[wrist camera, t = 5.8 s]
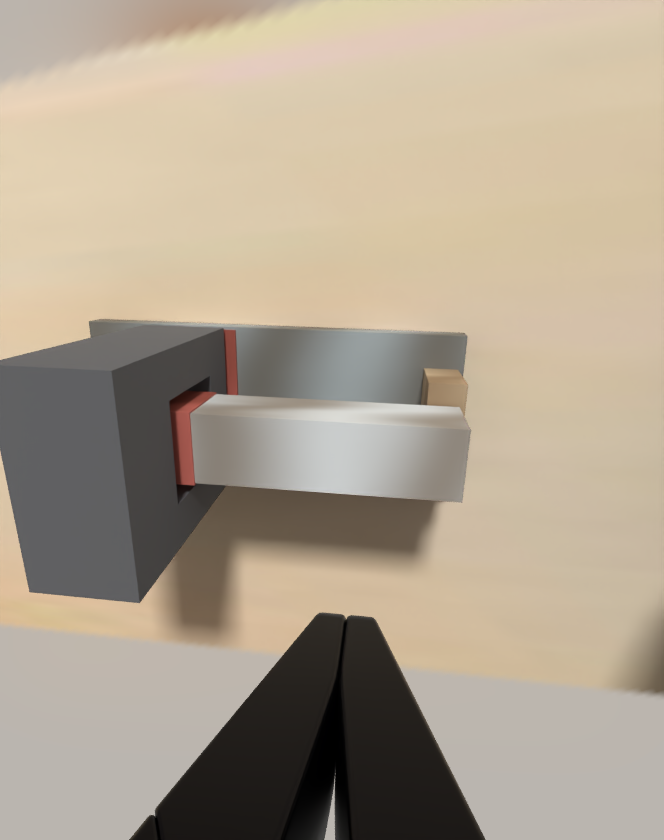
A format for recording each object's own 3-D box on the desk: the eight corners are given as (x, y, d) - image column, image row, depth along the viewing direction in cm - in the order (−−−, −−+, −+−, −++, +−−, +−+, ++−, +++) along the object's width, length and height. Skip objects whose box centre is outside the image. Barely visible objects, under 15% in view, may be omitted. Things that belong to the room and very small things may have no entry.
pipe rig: (463, 333, 17) (495, 361, 12) (447, 482, 19) (469, 562, 14) (100, 319, 19) (-8, 339, 14) (118, 459, 21) (28, 524, 16)
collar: (223, 327, 17) (111, 370, 10) (230, 479, 19) (139, 603, 12) (144, 324, 18) (-18, 364, 11) (158, 474, 19) (29, 592, 12)
